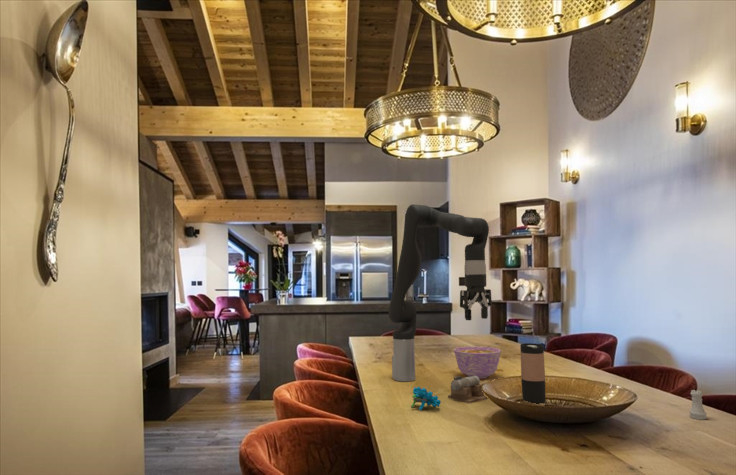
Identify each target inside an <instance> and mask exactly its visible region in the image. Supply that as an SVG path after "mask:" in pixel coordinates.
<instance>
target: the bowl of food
mask: <svg viewBox="0 0 736 475" xmlns="http://www.w3.org/2000/svg"><path fill="white" fill-rule="evenodd" d="M501 351H502V350H501V349H499V348H496V347H490V346H459V347H455V348H453V352H454V357H455V360H456V364H457V368H458V369H459V371H460V372H461V373H462V374H463V375H465V376H467V377H471V376H477V377H478V378H479V380H482V379H483V380H485V379H487V378H488V377H489V376H492V375H494V374H495V373H496V372H497V370H498V367H499V362H500V359H501V358H500V357H501Z"/></svg>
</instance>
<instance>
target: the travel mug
mask: <svg viewBox="0 0 736 475" xmlns="http://www.w3.org/2000/svg"><path fill="white" fill-rule="evenodd" d="M544 349H545V348H544V344H541V343H533V342H532V343H531V342H529V343H525V342H524V343H521V344H520V371H521V372H520V373H521V374H520V378H521V379H520V380H521V393H522V400H523V399H524V400H525V401H528V402H531V403H536V404H539V403H545V404H546V370H545V367H546V365H545V352H544V351H545V350H544Z"/></svg>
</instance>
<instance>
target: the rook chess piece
mask: <svg viewBox="0 0 736 475" xmlns="http://www.w3.org/2000/svg"><path fill="white" fill-rule="evenodd" d="M690 395H691V400H692V401H691V408H690V410H689V414H688V415H689V417H690V418H691V419H694V420H698V421H699V420H700V421H701V420H703V421H704V420H706V419H708V417H707V412H706V411H705V409H704V406H703V398H702V397H703V396H704V394H703V393H702V390H699V389H697V390H695V389H691V392H690Z"/></svg>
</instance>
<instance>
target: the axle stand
mask: <svg viewBox="0 0 736 475" xmlns="http://www.w3.org/2000/svg"><path fill="white" fill-rule="evenodd" d="M480 383H481V379H479V378H478V377H477V376H471V377H468V376H467V377H462V376H460V375H458V376H454V377H453V379H452V380H451V383H450V394H449V395H447V398H448V399H452V400H455V401H459V402H462V403H466V404H472V403H476V402H481V401H485V400H488V399H489V397H488V398H487V397H486V396H487V395H485V392H484V393H483V392H482V390H481V385H482V384H480Z"/></svg>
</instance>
